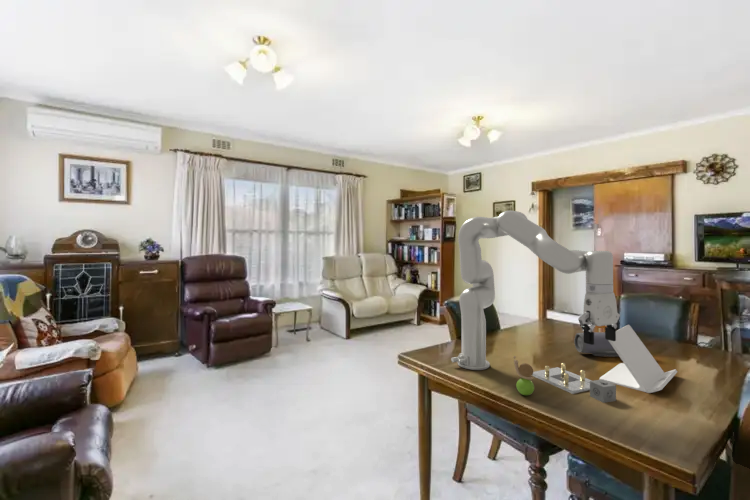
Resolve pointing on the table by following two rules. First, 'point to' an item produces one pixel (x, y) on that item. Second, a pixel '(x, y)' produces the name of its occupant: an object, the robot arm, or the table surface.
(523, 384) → the snail figurine
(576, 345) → the bluetooth speaker
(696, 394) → the table surface
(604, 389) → the dice cube
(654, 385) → the tablet stand
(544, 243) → the robot arm
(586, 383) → the chassis plate
